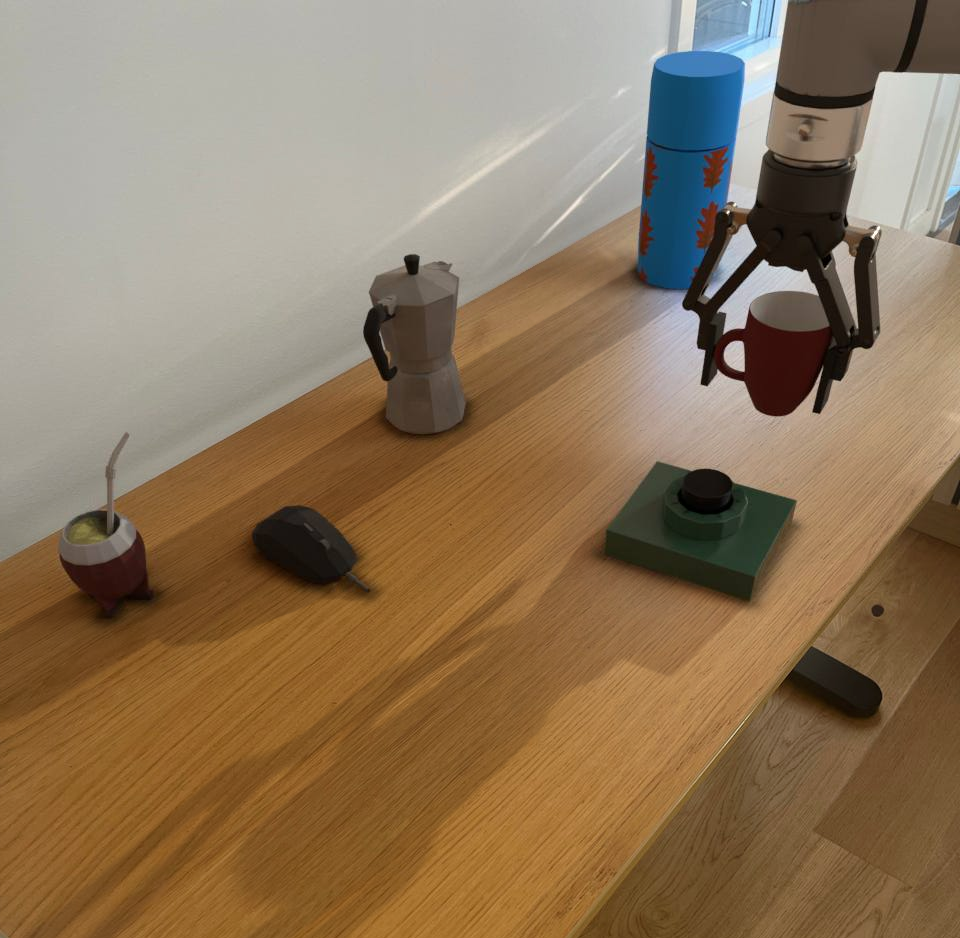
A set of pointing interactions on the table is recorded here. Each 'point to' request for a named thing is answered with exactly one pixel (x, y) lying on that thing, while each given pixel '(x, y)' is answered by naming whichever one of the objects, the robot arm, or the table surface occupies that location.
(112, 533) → the mate gourd
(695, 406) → the table surface
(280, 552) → the gaming mouse
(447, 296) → the coffeepot
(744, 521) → the green button base
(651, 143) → the thermos
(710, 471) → the black round button
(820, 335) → the mug
